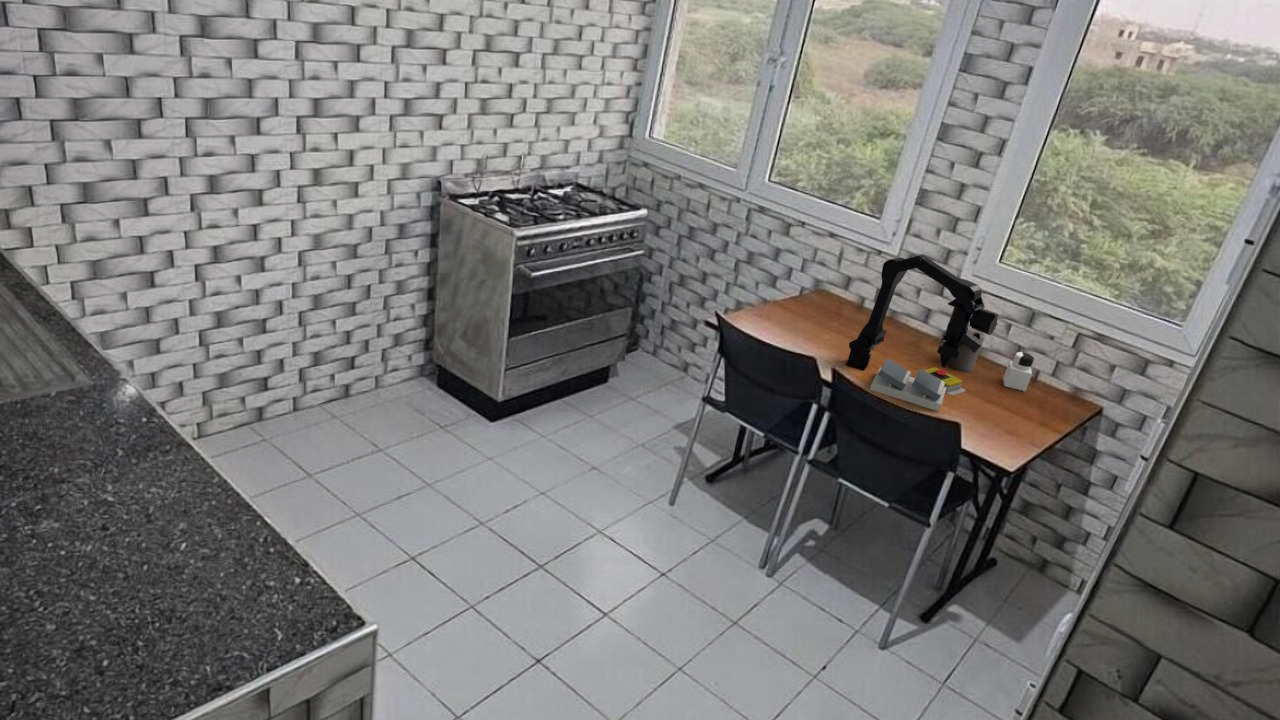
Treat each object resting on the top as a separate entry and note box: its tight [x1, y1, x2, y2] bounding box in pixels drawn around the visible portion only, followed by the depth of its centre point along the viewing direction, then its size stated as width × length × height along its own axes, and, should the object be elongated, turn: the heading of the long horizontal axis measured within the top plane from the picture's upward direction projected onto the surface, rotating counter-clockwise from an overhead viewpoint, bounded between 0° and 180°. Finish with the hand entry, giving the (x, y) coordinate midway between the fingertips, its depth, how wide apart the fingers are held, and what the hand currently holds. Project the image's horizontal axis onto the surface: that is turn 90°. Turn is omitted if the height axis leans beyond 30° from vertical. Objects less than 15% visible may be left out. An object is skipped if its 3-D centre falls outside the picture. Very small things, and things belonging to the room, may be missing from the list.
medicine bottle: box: [1002, 351, 1035, 392], centre depth 292 cm, size 7×7×12 cm
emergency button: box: [914, 367, 967, 396], centre depth 285 cm, size 9×4×15 cm
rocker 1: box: [877, 357, 912, 390], centre depth 273 cm, size 9×12×2 cm
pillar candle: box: [946, 326, 986, 373], centre depth 300 cm, size 10×10×15 cm
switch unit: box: [869, 367, 946, 412], centre depth 274 cm, size 22×15×4 cm
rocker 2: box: [912, 368, 945, 401], centre depth 270 cm, size 9×12×2 cm
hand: (943, 367), depth 268 cm, fingers closed
